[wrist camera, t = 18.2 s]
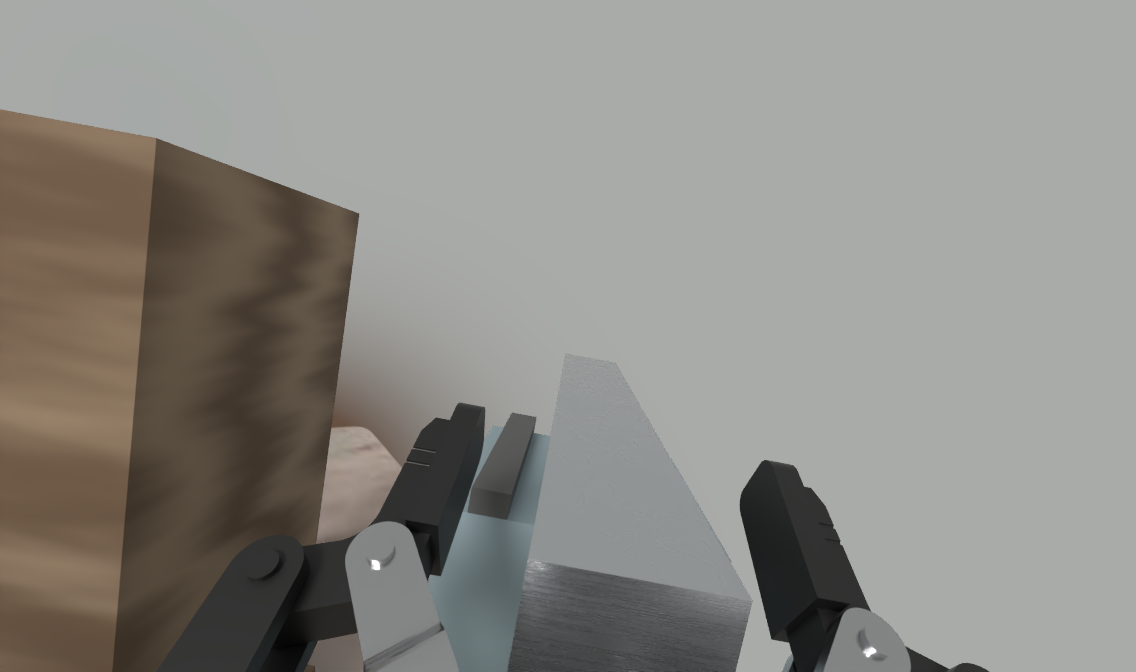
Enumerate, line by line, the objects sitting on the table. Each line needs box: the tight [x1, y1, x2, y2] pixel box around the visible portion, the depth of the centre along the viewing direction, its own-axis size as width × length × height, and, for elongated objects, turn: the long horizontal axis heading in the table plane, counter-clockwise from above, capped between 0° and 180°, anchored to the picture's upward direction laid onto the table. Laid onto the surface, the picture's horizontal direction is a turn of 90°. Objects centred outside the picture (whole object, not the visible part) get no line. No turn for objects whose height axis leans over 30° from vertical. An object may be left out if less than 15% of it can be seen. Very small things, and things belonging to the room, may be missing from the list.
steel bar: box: [507, 354, 752, 672], centre depth 21 cm, size 26×4×4 cm, turn 179°
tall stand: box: [0, 110, 359, 672], centre depth 20 cm, size 14×11×32 cm
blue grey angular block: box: [429, 413, 731, 672], centre depth 22 cm, size 10×11×22 cm
